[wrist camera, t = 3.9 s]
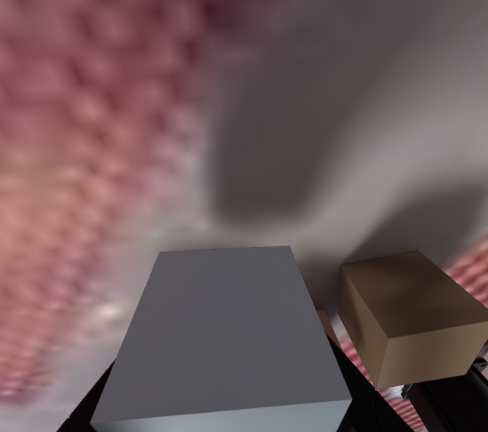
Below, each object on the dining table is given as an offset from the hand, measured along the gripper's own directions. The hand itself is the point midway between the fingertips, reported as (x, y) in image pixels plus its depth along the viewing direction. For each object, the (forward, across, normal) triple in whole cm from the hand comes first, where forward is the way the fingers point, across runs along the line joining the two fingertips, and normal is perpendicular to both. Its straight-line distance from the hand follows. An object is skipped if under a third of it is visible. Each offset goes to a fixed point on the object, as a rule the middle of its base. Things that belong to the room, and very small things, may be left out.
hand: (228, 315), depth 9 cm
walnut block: (+5, -10, +4) cm, 12 cm away
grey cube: (+1, 0, 0) cm, 1 cm away
